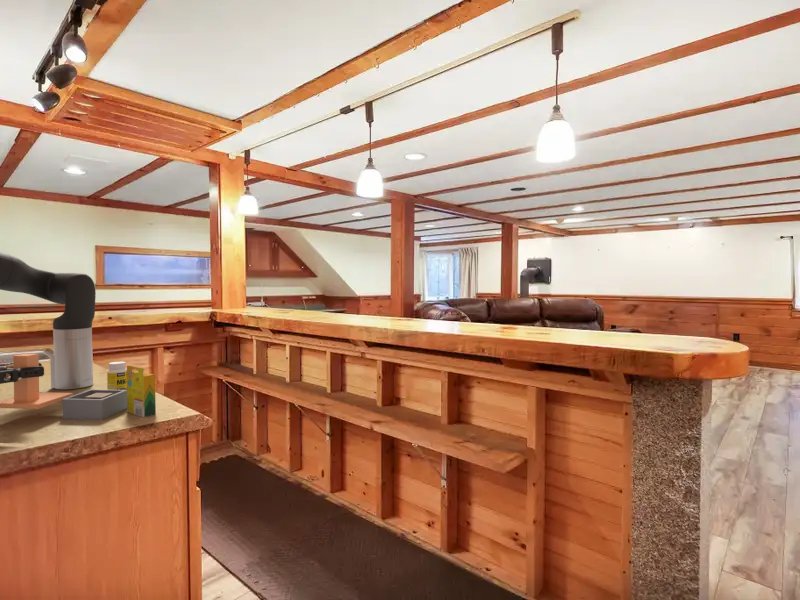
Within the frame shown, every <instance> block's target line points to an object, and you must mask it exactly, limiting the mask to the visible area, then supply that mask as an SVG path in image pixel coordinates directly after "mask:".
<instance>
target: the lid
mask: <svg viewBox="0 0 800 600" xmlns="http://www.w3.org/2000/svg"><path fill="white" fill-rule="evenodd" d="M12 358H13V361H12V363H13V365H14V368H16V367H19V368H21V370H22V368H24V367H35V366H39V363H40V362H39V361H40V360H39V359H40V358H39V353H22V354H15V355H13V357H12ZM73 395H74V392H48V391H47V392H46V391H45V392H44V391H43V392H41V391H40V377H31V378H22V379H20V380H18V381H16V382H13V397H9V398H5V399H2V400H0V409H14V410H15V409H17V410H21V409H22V410H23V409H24V410H39V409H42V408H45V407H48V406H51V405H54V404H57V403H60V402H62V399H64V398H67V397H70V396H73Z"/></svg>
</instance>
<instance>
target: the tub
mask: <svg viewBox="0 0 800 600" xmlns="http://www.w3.org/2000/svg"><path fill="white" fill-rule="evenodd" d="M95 393H113V395H111V396H108V397H105V398H103V399H85V397H86V396H89V395H92V394H95ZM61 403H62V404H61V405H62V407H61V408H62V409H61V410H62V420H93V421H94V420H95V421H96V420H99V421H100V420H101V421H102V420H105V419H107V418H109V417H112V416H114V415H116V414H119V413H121V412H123V411H125V410H127V390H107V389H94V388H93V389H88V390H85V391H81V392H79V393H77V394H73V396H70V397H67V398H64V399H62V401H61Z"/></svg>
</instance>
